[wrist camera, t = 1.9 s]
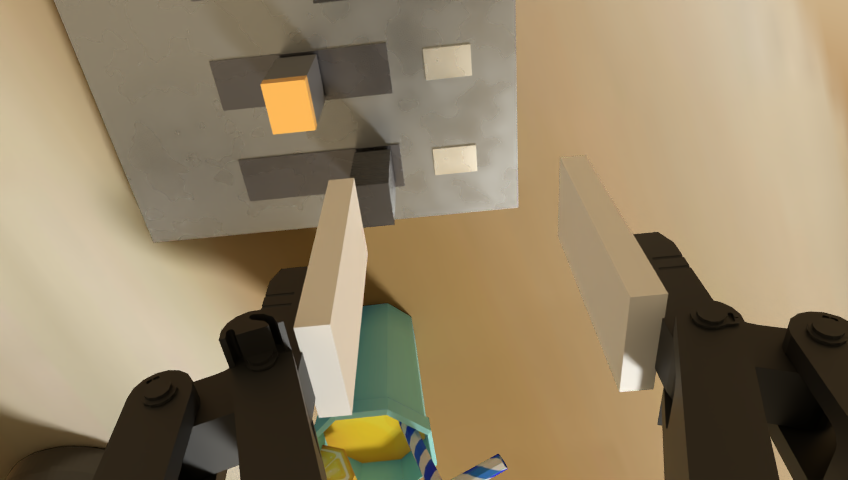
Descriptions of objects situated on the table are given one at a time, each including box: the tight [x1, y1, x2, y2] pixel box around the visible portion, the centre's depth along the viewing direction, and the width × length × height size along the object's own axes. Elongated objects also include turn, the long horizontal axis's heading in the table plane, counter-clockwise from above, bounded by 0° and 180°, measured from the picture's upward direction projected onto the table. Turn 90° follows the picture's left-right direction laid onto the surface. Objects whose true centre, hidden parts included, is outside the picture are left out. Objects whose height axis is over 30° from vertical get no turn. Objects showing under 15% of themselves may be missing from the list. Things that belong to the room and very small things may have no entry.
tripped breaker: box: [260, 54, 325, 135], centre depth 29 cm, size 2×2×4 cm
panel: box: [54, 0, 518, 243], centre depth 30 cm, size 22×18×6 cm
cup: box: [314, 303, 507, 480], centre depth 37 cm, size 14×8×15 cm, turn 120°
